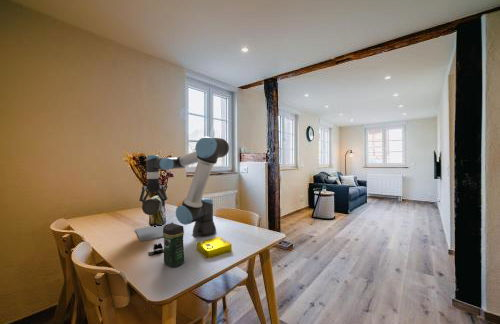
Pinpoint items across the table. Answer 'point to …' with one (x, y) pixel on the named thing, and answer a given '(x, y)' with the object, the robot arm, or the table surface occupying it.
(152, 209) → the coffee can
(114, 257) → the table surface
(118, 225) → the table surface
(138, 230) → the rubber mat
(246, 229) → the table surface
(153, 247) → the dark grey angular piece
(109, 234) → the table surface
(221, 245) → the element tile
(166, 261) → the coffee jar
